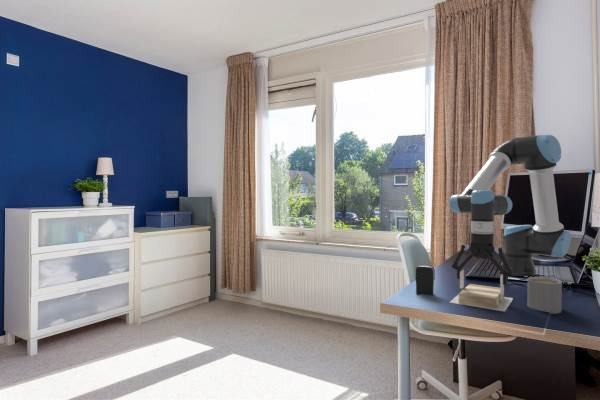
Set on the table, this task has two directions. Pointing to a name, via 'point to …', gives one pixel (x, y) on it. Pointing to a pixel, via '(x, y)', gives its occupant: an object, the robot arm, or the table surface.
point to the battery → (425, 280)
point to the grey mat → (500, 307)
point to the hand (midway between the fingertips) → (481, 290)
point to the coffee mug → (545, 294)
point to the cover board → (481, 296)
